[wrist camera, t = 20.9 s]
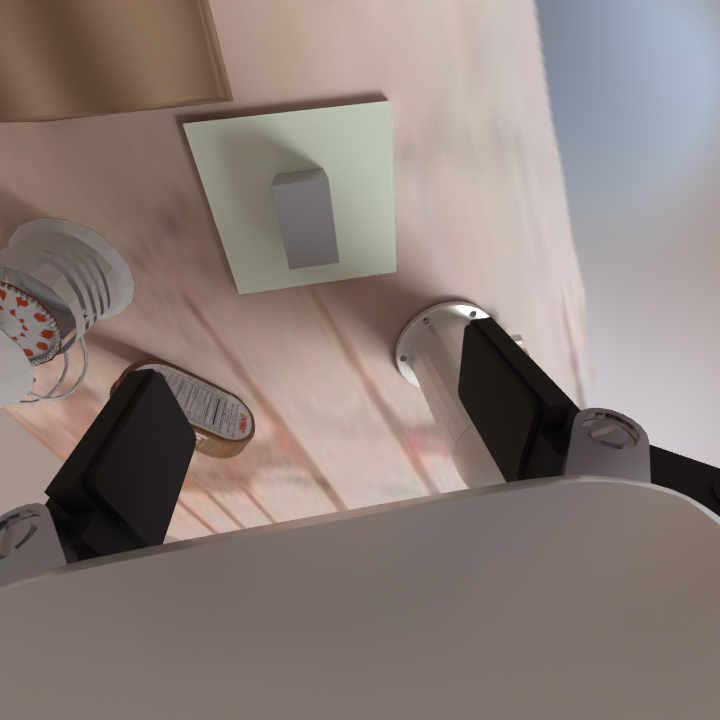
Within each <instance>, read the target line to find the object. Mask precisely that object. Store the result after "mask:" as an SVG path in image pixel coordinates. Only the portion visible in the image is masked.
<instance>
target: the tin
mask: <svg viewBox="0 0 720 720" xmlns="http://www.w3.org/2000/svg"><path fill="white" fill-rule="evenodd" d="M150 368H151V369H154V370H155V371H156V372H160V373H161V374H162V375H163V376H164V378H165V380H166V381H167V383H168V385H169V387H170V389H171V390H172V392H173V394H174V396H175V397H176V399H177V401H178V403H179V405H180V406H181V408H182V410H183V412H184V414H185V415H186V417H187V419H188V421H189V423H190V424H191V426H192V428H193V430H194V431H195V434H196V439H197V440H196V446H195V449H194V451H197V452H199V453H202V454H204V455H207V456H210V457H213V458H219V459H226V458H231V457H234V456H236V455H238V454H240V453H241V452H242V451H243V449H244V448H245V446H246V445H247V444H248V443H249V442H250V440H251V439H252V438H253V436H254V433H255V421H254V417H253V415H252V413H251V411H250V410H249V408H248V407H247V406H246V405H245V404H244V403H243V402H242V401H241V400H240V399H238V398H237V397H236V396H234V395H232V394H230V393H228V392H226V391H224V390H222V389H220V388H218V387H216V386H214V385H212V384H210V383H208V382H206V381H204V380H202V379H200V378H198V377H196V376H194V375H192V374H190V373H188V372H186V371H184V370H182V369H180V368H178V367H176V366H174V365H171V364H169V363H165V362H161V361H155V360H146V361H140V362H136V363H134V364H132V365H131V366H129V367H128V368H127V369H125V371H124V372H123V373H122V374H121V376H120V377H119V379H118V380H117V381H116V382H115V383H114V384H113V386H112V387H111V390H110V398H111V396H112V395H113V393H114V392H115V391H116V389H117V388H118V386H119V385H120V383H121V382H122V381H123V379H124V378H125V376H126V375H127V374H128V373H129V372H131V371H136V370H143V369H150Z"/></svg>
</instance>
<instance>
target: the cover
mask: <svg viewBox="0 0 720 720" xmlns="http://www.w3.org/2000/svg"><path fill="white" fill-rule="evenodd" d="M183 127H184V130H185V133H186V136H187V139H188V142H189V145H190V148H191V151H192V154H193V157H194V160H195V163H196V166H197V169H198V172H199V175H200V178H201V181H202V184H203V187H204V190H205V193H206V196H207V199H208V202H209V205H210V208H211V211H212V214H213V217H214V220H215V223H216V226H217V229H218V232H219V235H220V238H221V241H222V244H223V247H224V250H225V253H226V256H227V259H228V262H229V265H230V268H231V271H232V274H233V277H234V280H235V283H236V286H237V289H238V292H239V295H242V294H249V293H256V292H263V291H270V290H277V289H283V288H290V287H297V286H304V285H311V284H318V283H325V282H332V281H339V280H346V279H352V278H359V277H366V276H373V275H380V274H387V273H394V272H397V269H396V232H395V194H394V156H393V119H392V100H391V101H382V102H373V103H364V104H355V105H346V106H337V107H328V108H319V109H310V110H301V111H292V112H283V113H274V114H265V115H256V116H247V117H238V118H229V119H220V120H211V121H202V122H193V123H184V124H183Z"/></svg>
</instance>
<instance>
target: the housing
mask: <svg viewBox="0 0 720 720" xmlns="http://www.w3.org/2000/svg"><path fill="white" fill-rule="evenodd" d="M227 101H233V97H232V93H231V89H230V85H229V81H228V77H227V73H226V69H225V65H224V61H223V57H222V53H221V49H220V45H219V41H218V37H217V33H216V29H215V25H214V21H213V17H212V13H211V9H210V5H209V1H208V0H0V122H44V121H53V120H62V119H71V118H80V117H89V116H99V115H108V114H117V113H126V112H135V111H144V110H154V109H163V108H172V107H181V106H190V105H199V104H209V103H218V102H227Z"/></svg>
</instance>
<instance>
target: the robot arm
mask: <svg viewBox="0 0 720 720" xmlns="http://www.w3.org/2000/svg"><path fill="white" fill-rule="evenodd" d="M424 318H425V319H424ZM522 341H523V340H522V337H521V335H519V334H518V335H512V336H509V335H508V334H507V333H506V332H505V331H504V330H503V329H502V328H501V327H500V326H499V325H498V324H497V323H496V321H495V320H494V319H493V318H491V317H489V316H488V314H487V313H486V312H485V311H483V310H482V309H481V308H480V307H478V306H476V305H474V304H471V303H467V302H462V301H451V302H445V303H441V304H438V305H434V306H432V307H430V308H428V309H426V310H424V311H422V312H421V313H420V314H418V315H417V316H415V317H414V318H413V319H412V320H411V321H410V322H409V323H408V324H407V325H406V327H405V328H404V330H403V331H402V332H401V334H400V337H399V339H398V341H397V345H396V349H395V359H396V363H397V366H398V369H399V371H400V373H401V375H402V376H403V378H404V379H405V380H406V381H408V382H409V383H410V384H412V385H414V386H415V387H418V388H421V390H422V392H423V394H424V396H425V399H426V401H427V403H428V405H429V407H430V410H431V412H432V414H433V416H434V419H435V421H436V423H437V425H438V428H439V430H440V432H441V434H442V436H443V439H444V441H445V443H446V445H447V448H448V450H449V452H450V454H451V457H452V459H453V461H454V463H455V466H456V468H457V470H458V472H459V475H460V476H461V478H462V480H463V481H464V483H465V484H466V486H467V487H468V488H469V489H465V490H459V491H454V492H448V493H442V494H437V495H431V496H425V497H419V498H414V499H408V500H402V501H397V502H391V503H385V504H380V505H374V506H368V507H363V508H357V509H352V510H346V511H341V512H335V513H330V514H324V515H318V516H313V517H307V518H302V519H296V520H291V521H285V522H280V523H274V524H269V525H264V526H258V527H253V528H247V529H242V530H237V531H231V532H226V533H220V534H215V535H210V536H204V537H199V538H194V539H188V540H183V541H178V542H172V543H167V544H163V541H164V538H165V535H166V532H167V529H168V527H169V524H170V521H171V518H172V515H173V512H174V509H175V506H176V503H177V500H178V497H179V494H180V491H181V488H182V485H183V482H184V479H185V476H186V473H187V470H188V467H189V464H190V461H191V458H192V455H193V452H194V449H195V446H196V440H197V439H196V434H195V431H194V430H193V428H192V426H191V424H190V423H189V421H188V419H187V417H186V415H185V414H184V412H183V410H182V408H181V406H180V405H179V403H178V401H177V399H176V397H175V396H174V394H173V392H172V390H171V389H170V387H169V385H168V383H167V381H166V380H165V378H164V376H163V375H162V374H161V373H160V372H156V371H155V370H154V369H151V368H150V369H143V370H136V371H131V372H129V373H128V374H127V375H126V376H125V378H124V379H123V381H122V382H121V383H120V385H119V386H118V388H117V389H116V391H115V392H114V393H113V395H112V396H111V398H110V399H109V401H108V402H107V403H106V405H105V406H104V408H103V409H102V411H101V412H100V413H99V415H98V416H97V418H96V419H95V420H94V422H93V423H92V425H91V426H90V428H89V429H88V430H87V432H86V433H85V435H84V436H83V438H82V439H81V440H80V442H79V443H78V445H77V446H76V448H75V449H74V450H73V452H72V453H71V455H70V456H69V457H68V459H67V460H66V462H65V463H64V465H63V466H62V467H61V469H60V470H59V472H58V473H57V475H56V476H55V477H54V479H53V480H52V482H51V483H50V485H49V486H48V487H47V489H46V490H45V492H44V493H46V494H47V495H48V496H49V497H50V498H49V499H48V501H47V502H46V504H45V505H43V504H39V503H34V504H27V505H24V506H21V507H18V508H15V509H13V510H11V511H9V512H7V513H5V514H3V515H2V516H1V517H0V720H720V469H719V468H717V467H714V466H711V465H708V464H705V463H702V462H699V461H696V460H693V459H690V458H687V457H684V456H682V455H679V454H676V453H673V452H670V451H667V450H664V449H661V448H658V447H655V446H652V445H649V439H648V436H647V434H646V432H645V431H644V429H643V428H642V427H641V426H640V425H639V424H637V423H636V422H635V421H634V420H632V419H631V418H629V417H627V416H625V415H624V414H621V413H619V412H616V411H613V410H609V409H603V408H588V409H584V410H582V411H581V410H580V409H579V408H578V407H577V406H576V405H575V404H574V402H573V401H572V400H571V399H570V398H569V397H568V396H567V395H566V394H565V393H564V392H563V391H562V390H561V389H560V388H559V387H558V386H557V385H556V384H555V383H554V382H553V381H552V380H551V379H550V378H549V376H548V375H547V374H546V373H545V372H544V371H543V370H542V369H541V368H540V367H539V366H538V365H537V364H536V363H535V362H534V361H533V360H532V359H531V358H530V357H529V354H528V351H527V350H526V349H525V348H521V347H520V346H521V345H522Z"/></svg>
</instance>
